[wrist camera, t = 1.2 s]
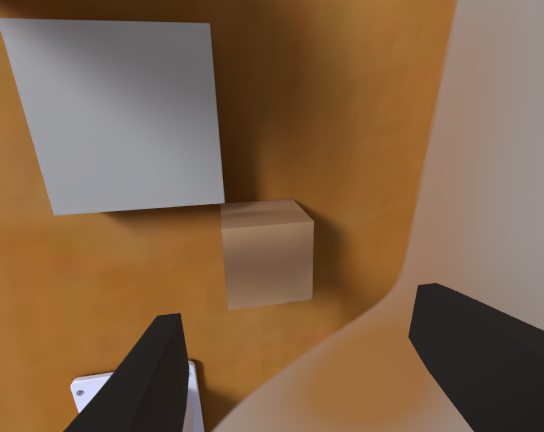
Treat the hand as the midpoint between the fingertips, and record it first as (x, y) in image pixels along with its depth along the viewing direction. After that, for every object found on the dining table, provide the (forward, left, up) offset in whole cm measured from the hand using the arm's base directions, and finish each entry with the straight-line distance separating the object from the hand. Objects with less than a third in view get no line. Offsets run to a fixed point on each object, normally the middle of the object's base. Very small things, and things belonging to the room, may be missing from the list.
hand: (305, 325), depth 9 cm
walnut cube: (-1, 0, -10) cm, 10 cm away
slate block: (+6, +6, -11) cm, 14 cm away
